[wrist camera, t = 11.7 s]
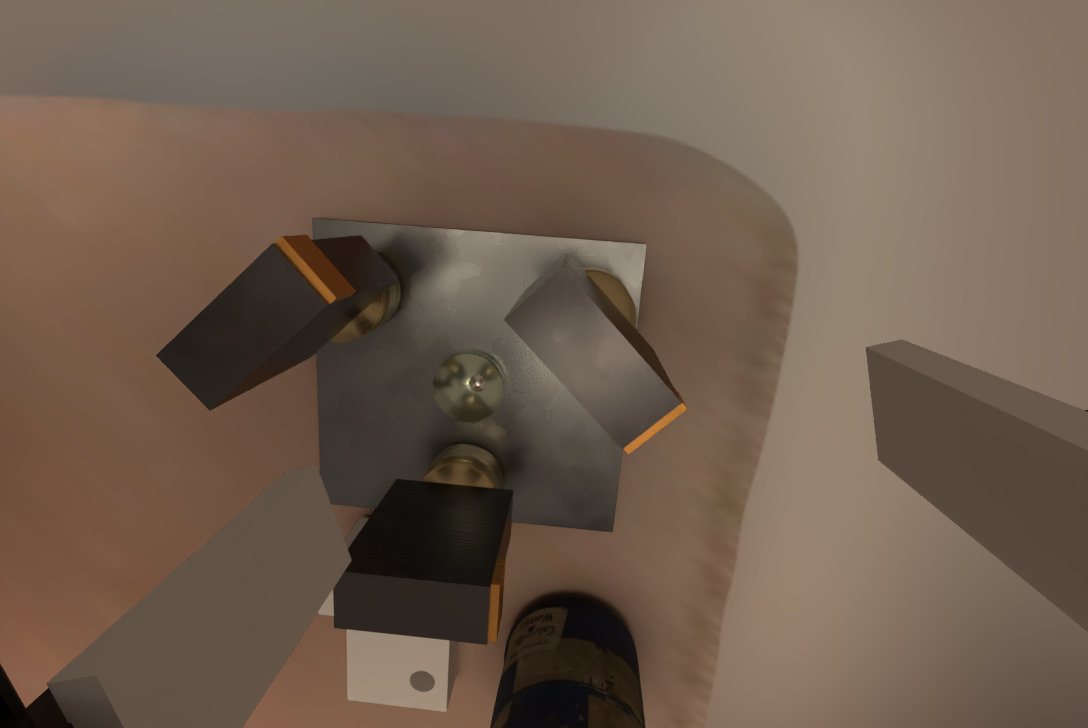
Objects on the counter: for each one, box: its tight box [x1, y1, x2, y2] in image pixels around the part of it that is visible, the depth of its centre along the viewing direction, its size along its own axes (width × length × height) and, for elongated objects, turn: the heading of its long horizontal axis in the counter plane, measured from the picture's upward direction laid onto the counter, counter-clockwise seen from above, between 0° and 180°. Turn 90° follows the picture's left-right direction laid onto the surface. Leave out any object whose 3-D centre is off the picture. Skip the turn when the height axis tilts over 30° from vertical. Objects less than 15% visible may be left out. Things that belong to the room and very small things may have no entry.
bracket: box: [318, 517, 458, 712], centre depth 38 cm, size 13×7×8 cm, turn 176°
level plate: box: [312, 218, 647, 532], centre depth 36 cm, size 20×19×2 cm
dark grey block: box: [156, 235, 401, 410], centre depth 29 cm, size 7×5×13 cm
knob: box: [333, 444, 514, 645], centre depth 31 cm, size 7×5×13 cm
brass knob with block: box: [504, 252, 687, 454], centre depth 28 cm, size 7×5×13 cm
